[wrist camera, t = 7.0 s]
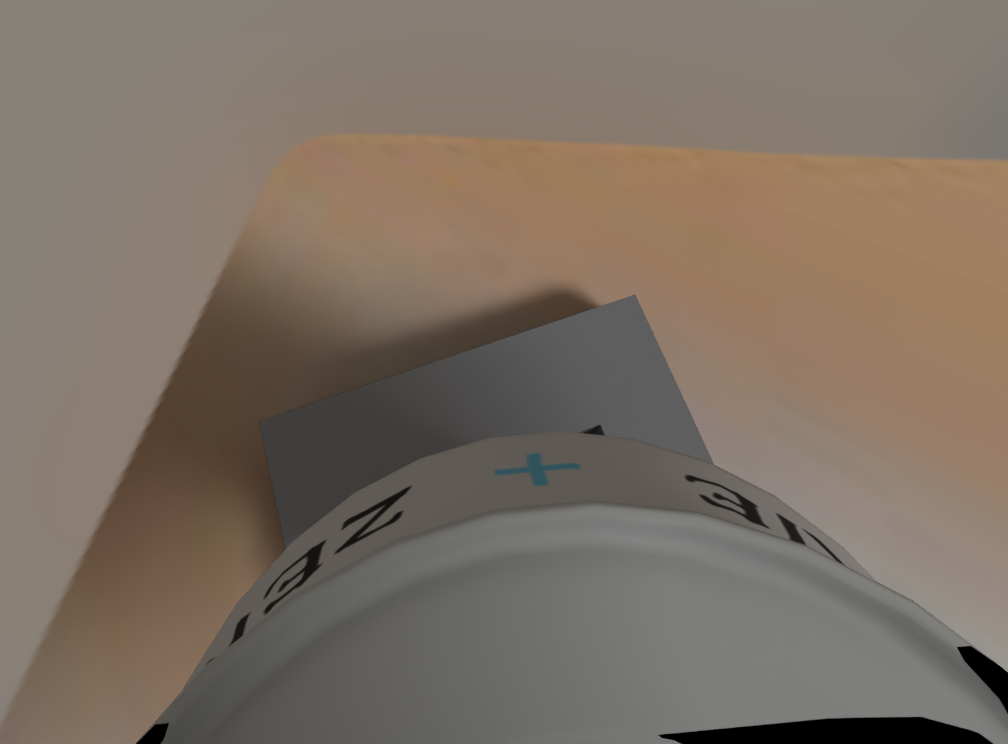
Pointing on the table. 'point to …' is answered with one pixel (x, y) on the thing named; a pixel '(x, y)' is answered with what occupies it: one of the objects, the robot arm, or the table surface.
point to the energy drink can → (578, 618)
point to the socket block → (480, 408)
